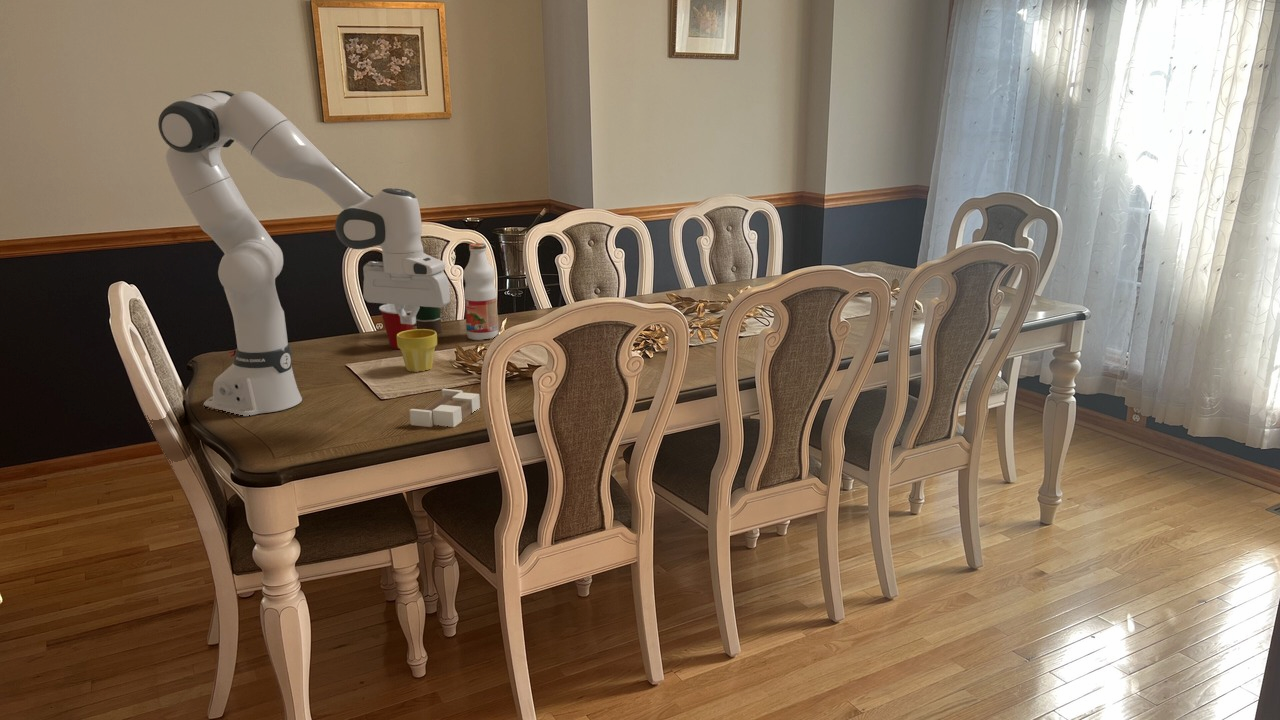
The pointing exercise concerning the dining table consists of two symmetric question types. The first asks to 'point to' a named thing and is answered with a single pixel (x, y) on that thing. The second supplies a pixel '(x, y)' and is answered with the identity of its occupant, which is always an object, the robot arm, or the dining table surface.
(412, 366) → the plant pot
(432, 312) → the beer bottle
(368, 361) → the dining table surface
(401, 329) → the plastic cup
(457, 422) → the cream T dock
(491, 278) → the fruit juice
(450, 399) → the walnut T block
